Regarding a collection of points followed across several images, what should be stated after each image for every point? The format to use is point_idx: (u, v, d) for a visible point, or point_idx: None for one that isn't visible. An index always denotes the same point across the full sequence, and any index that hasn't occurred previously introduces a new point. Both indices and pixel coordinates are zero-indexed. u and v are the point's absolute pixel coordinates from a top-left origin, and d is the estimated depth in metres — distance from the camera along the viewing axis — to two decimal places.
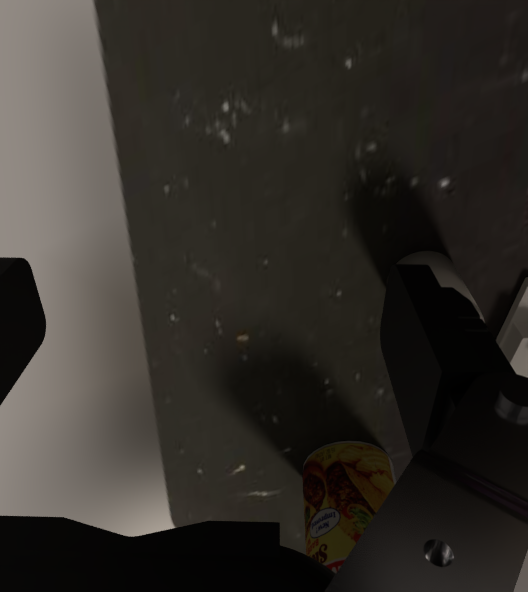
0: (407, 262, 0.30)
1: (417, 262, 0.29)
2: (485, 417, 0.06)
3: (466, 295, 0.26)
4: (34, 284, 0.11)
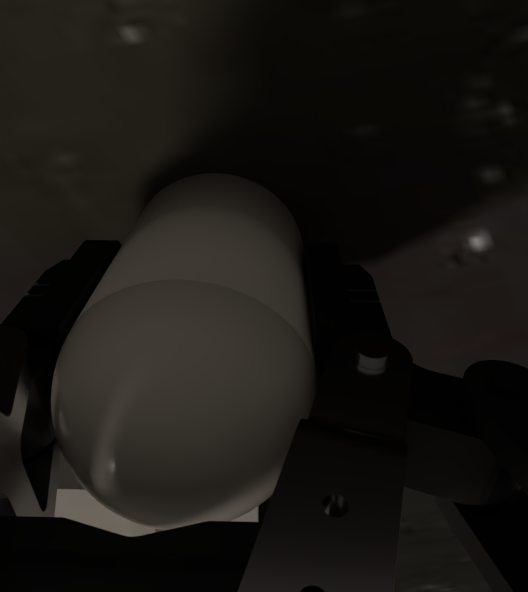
0: (282, 213, 0.11)
1: (296, 238, 0.11)
2: (349, 375, 0.07)
3: None
4: None
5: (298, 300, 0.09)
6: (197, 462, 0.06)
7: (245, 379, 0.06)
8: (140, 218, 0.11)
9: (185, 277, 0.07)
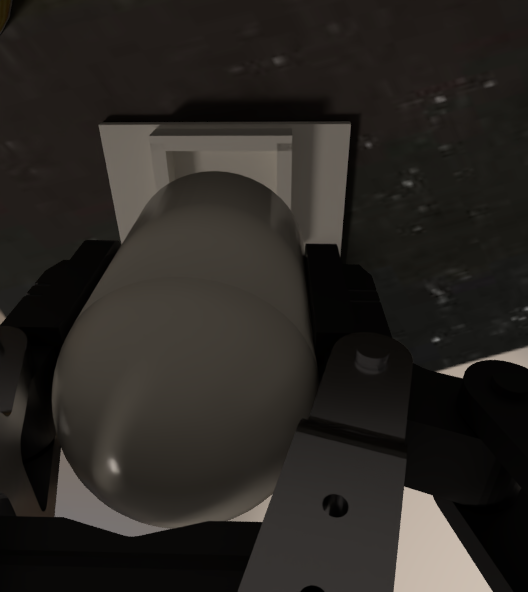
0: (283, 211, 0.11)
1: (296, 236, 0.11)
2: (349, 375, 0.07)
3: None
4: None
5: (299, 298, 0.09)
6: (199, 459, 0.06)
7: (247, 376, 0.06)
8: (140, 216, 0.11)
9: (186, 274, 0.07)
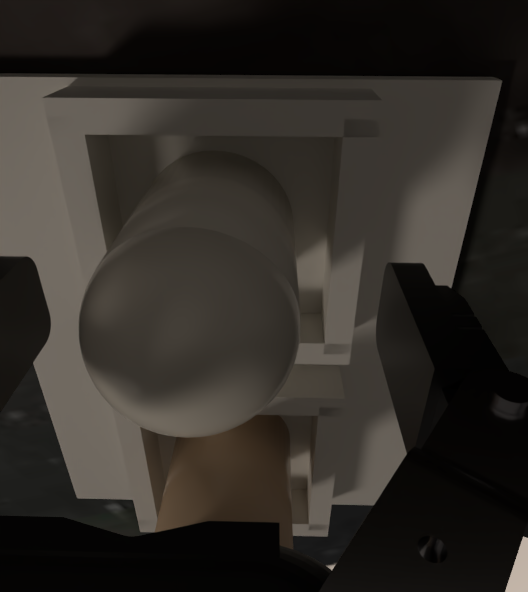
0: (274, 185, 0.13)
1: (285, 207, 0.13)
2: (477, 414, 0.06)
3: None
4: (39, 283, 0.11)
5: (285, 252, 0.10)
6: (200, 367, 0.08)
7: (238, 303, 0.08)
8: (149, 188, 0.12)
9: (190, 225, 0.09)
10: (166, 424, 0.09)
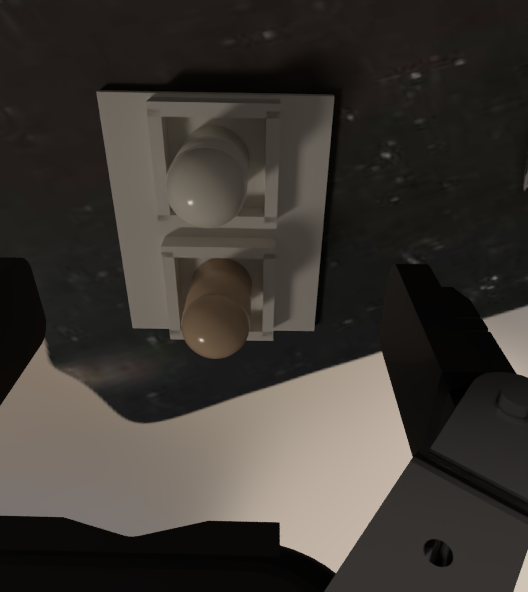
0: (240, 140, 0.29)
1: (244, 150, 0.29)
2: (485, 417, 0.06)
3: None
4: (34, 284, 0.11)
5: (241, 161, 0.27)
6: (211, 188, 0.24)
7: (223, 168, 0.24)
8: (186, 140, 0.29)
9: (206, 146, 0.25)
10: (198, 212, 0.25)
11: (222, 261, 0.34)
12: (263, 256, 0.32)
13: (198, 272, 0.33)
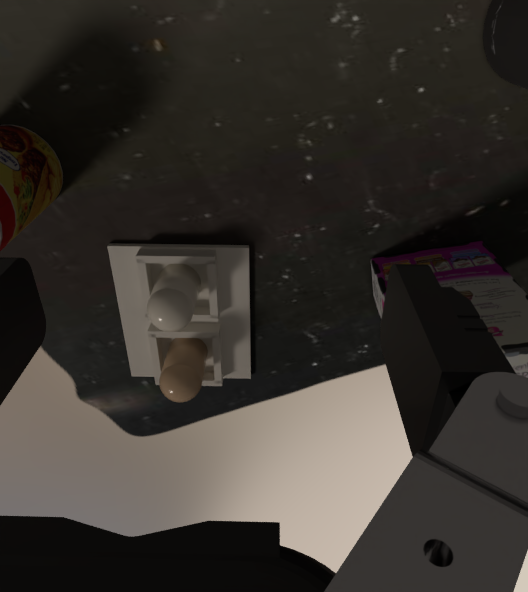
0: (193, 272, 0.48)
1: (196, 278, 0.48)
2: (485, 417, 0.06)
3: None
4: (34, 284, 0.11)
5: (191, 292, 0.46)
6: (171, 314, 0.43)
7: (178, 303, 0.44)
8: (160, 274, 0.48)
9: (169, 288, 0.44)
10: (164, 326, 0.44)
11: None
12: (211, 337, 0.52)
13: (172, 345, 0.53)
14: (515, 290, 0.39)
